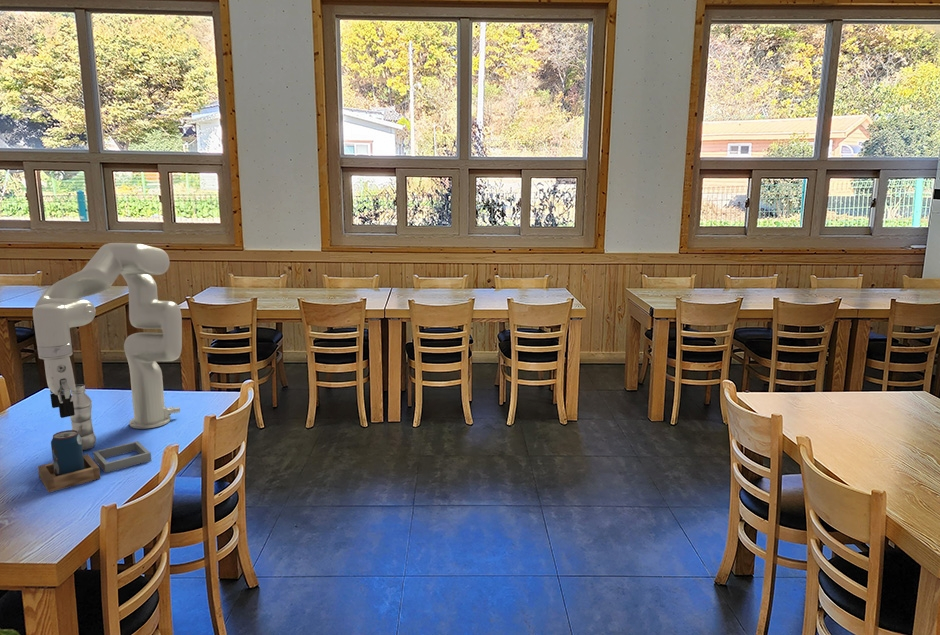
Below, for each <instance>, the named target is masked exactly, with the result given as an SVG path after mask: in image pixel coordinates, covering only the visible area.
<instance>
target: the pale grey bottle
mask: <svg viewBox="0 0 940 635" xmlns="http://www.w3.org/2000/svg"><path fill="white" fill-rule="evenodd" d="M75 387H76V391H75V392H72V391H71V390H70V392H71V396H72V399H73V404H74V412H75V415H73V416H69V417H70V421H71V430H76V431H78V434H79V435H80V437H81V441H82V450H83V451H86V450H90V449H92V448H93V447H95V445H96V442H97V441H96V440H97V437H96V433H95V432H94V431H95V430H94V426H93V422H92V406H93V405H92V404H93V403H92V398H91V397H90V396H89V395H88V394H86V386H85V384H75Z"/></svg>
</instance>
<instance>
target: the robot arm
mask: <svg viewBox="0 0 940 635" xmlns="http://www.w3.org/2000/svg"><path fill="white" fill-rule="evenodd" d="M169 268H170V257H169V255H168V253H167V252H166V251H165V250H164V249H162V248H159V247H155V246H151V245H147V244H143V243H133V242H111V243H110V242H108V243H105V244H103V245H102V246H101V247H100V248H99V249H98V250H97V251H96V253H95V254H94V255H93V256H92V257H91V259H90V260H89V261H88V262H87V264H85V265H84V267H83V269H81V270H80V271H77V272H75V273H72V274H71V275H69V276H67V277H65V278H63V279H60V280H58V281H57V282H54V284H52V285H50V286H49V287H48V288H47V289H46V290H45V291H44V292H43V294H42V295H41V296H40V297H39V298H38V300H37V301H36V304H35V305H34V307H33V308H32V309H33V310H32V318H33V326H34V327H33V328H34V333H35V341H36V346H37V354H38V359H40V360H43V362H44V363H43V364H44V370H45V372H44V373H45V379H46V383H47V387H48V389H49V392H50V394H49V395H50V403H51V408H53V409H55V408H58V411H59V417H60V418H61V419H64V418H68V417H70V416H73V415H75V412H74V404H73V399H72V394H71V391H72V392H75V391H76V387H75V385H76V383H75V382H76V380H75V375H74V370H73V365H72V361H71V358H70V357H71V356H72V355H73V353H74V352H73V346H72V338H71V328H76V327H83V326H86V325H88V324H90V323H91V322H93V320H94V318H95V316H96V314H97V313H96V307H95V305H94V304H93V303H92V302H91V301H90V300H87V299H83V298H85V297H90V296H94V295H98V294H101V293H103V292H105V291H108V290H109V289H110V288H111V287H112V286H113V284H114V283H115V281H116V280H117V279H118V277H119V276H120V275H121V276H122V278H123V279H124V280H125V282H126V284H127V290H128V319H129V322H130V325H131V326H132V327H134V328H136V329H144V330H147V329H149V330H151V329H153V330H161V331H162V332H135V333H132V334H130V335H128V336H126V338H125V339H124V344H123V350H124V354H125V357H126V360H127V363H128V367H129V374H130V386H131V397H132V407H133V418H132V419H130V420H129V426H130V427H131V428H133V429H138V430H139V429H141V430H143V429H144V430H145V429H153V428H158V427H162V426H164V425H167V424H168V423H170V421H171V420H172V419H171V418H172V417H171V414H178V413H181V407H180V406H177V407H174V406H170V407H166V406H165V405H166V404H165V395H164V382H163V372H162V368H161V367H160V365H159V364H158V363H157V362H174V361H177V360H178V359H179V358H180V356H181V354H182V349H183V348H182V347H183V326H182V325H183V324H182V323H183V319H182V318H183V317H182V311H181V308H180V305H178V304H177V303H176V302H175V301H171V300H159V298H158V296H159V295H158V286H157V285H158V284H157V283H156V280H155V279H154V278H153V276H158V275H159V276H160V275H164V274H165V273H167V271H168V270H169ZM152 275H153V276H152Z"/></svg>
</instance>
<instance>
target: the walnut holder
mask: <svg viewBox="0 0 940 635" xmlns="http://www.w3.org/2000/svg"><path fill="white" fill-rule="evenodd" d="M83 459H84V469H83V470H79V471H75V472H71V473H68V474H64V475H60V476H56V475H55V474H54V465H53V462H51V463H50V462H49V463H44V464H42V465H38V466H37V470H38V478H39V480H40V481H41V483H42V484H43V486H44V487H45V489H46V490H47V493H53V492H56V491H59V489H60V490H63V488H64V489H67V488H66V487H68V488H71V487H75V486H79V485H82V484H85V482H86V483H89V481H90V482H93V481H92V480H94V481H97V480H101V470H100V466H99V465H98V464H97V462H96V461H95V460H94V459H93V458H92V457H91V456H90V455H89V454H83ZM96 479H97V480H96ZM78 484H79V485H78ZM74 485H75V486H74ZM70 486H71V487H70ZM55 490H56V491H55ZM52 491H53V492H52Z"/></svg>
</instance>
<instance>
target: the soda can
mask: <svg viewBox="0 0 940 635" xmlns="http://www.w3.org/2000/svg"><path fill="white" fill-rule="evenodd" d="M50 446H51V455H52V457H51V458H52V463H53V465H54V474H55V475H56V476H60V475H64V474H68V473H71V472H75V471H79V470H83V469H84V459H83V455H84V452H83V451H84V450H82V441H81V437H80V435H79V434H78V431H76V430H72V429H70V430H62V431H58V432H56V433H55V434H53V435H52V438H51V441H50Z"/></svg>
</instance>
